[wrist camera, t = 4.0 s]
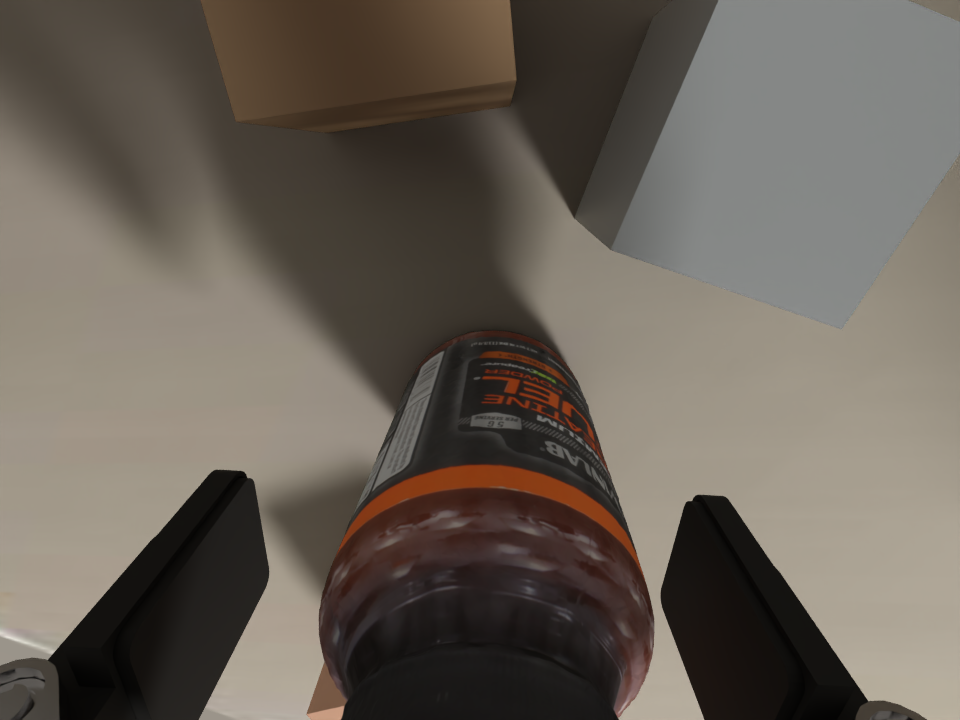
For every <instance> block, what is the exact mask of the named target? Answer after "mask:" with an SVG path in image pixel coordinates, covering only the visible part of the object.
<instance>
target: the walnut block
mask: <svg viewBox="0 0 960 720" xmlns="http://www.w3.org/2000/svg"><path fill="white" fill-rule="evenodd" d="M200 1H201V4H202V8H203V11H204V14H205V18H206V21H207V25H208V28H209V32H210V35H211V38H212V42H213V45H214V49H215V52H216V56H217V59H218V62H219V66H220V69H221V73H222V76H223V80H224V83H225V86H226V90H227V93H228V97H229V100H230V104H231V107H232V110H233V114H234V117H235V121H236V122H240V123H249V124H257V125H265V126H274V127H282V128H290V129H299V130H307V131H315V132H324V133H329V132H336V131H343V130H350V129H357V128H364V127H370V126H377V125H384V124H391V123H398V122H405V121H412V120H419V119H425V118H432V117H439V116H446V115H453V114H460V113H467V112H473V111H480V110H487V109H494V108H501V107H508V106H510V105H511V101H512V97H513V93H514V88H515V84H516V80H517V79H516V67H515V55H514V43H513V32H512V20H511V8H510V0H200Z"/></svg>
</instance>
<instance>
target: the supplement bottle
mask: <svg viewBox="0 0 960 720" xmlns="http://www.w3.org/2000/svg"><path fill="white" fill-rule="evenodd" d="M319 637H320V644H321V648H322V653H323V657H324V661H325V664H326V666H327V667H328V671H329V674H330V676H331V678H332V680H333V681H334V683H335V685H336V688H337V689H339V690H340V692H341V694H342V696H343V698H345V700H346V701H347V702H346V703H345V706H344V711H343V715H342V718H341V720H619V719H618V718H619V717H620V716H621V714H622V713H623V711H624V710H625V709H626V708H627V707H628V706H629V705H630V703H631V701H633V700H634V699H635V698H636V696H637V694H638V692H639V690H640V688H641V686H642V684H643V682H644V681H645V678H646V675H647V672H648V670H649V666H650V662H651V659H652V654H653V647H654V616H653V610H652V605H651V600H650V596H649V592H648V588H647V585H646V582H645V579H644V575H643V572H642V569H641V566H640V563H639V560H638V557H637V553H636V550H635V547H634V544H633V541H632V538H631V535H630V532H629V529H628V526H627V523H626V520H625V518H624V515H623V511H622V508H621V506H620V503H619V498H618V496H617V493H616V491H615V488H614V485H613V483H612V479H611V476H610V473H609V471H608V468H607V465H606V462H605V460H604V456H603V453H602V450H601V447H600V443H599V440H598V437H597V434H596V431H595V428H594V424H593V421H592V418H591V416H590V413H589V408H588V405H587V403H586V400H585V398H584V396H583V393H582V391H581V388H580V386H579V384H578V382H577V380H576V378H575V376H574V375H573V373H572V371H571V370H570V368H569V367H568V366H567V365H566V363H565V362H564V361H563V360H562V359H561V358H560V357H559V356H558V355H557V354H556V353H555V352H554V351H552V350H551V349H550V348H548V347H546V346H545V345H544V344H542V343H541V342H539V341H537V340H534V339H532V338H529V337H527V336H524V335H521V334H517V333H513V332H507V331H481V332H470V333H466V334H464V335H461V336H458V337H455V338H453V339H452V340H450V341H448V342H446V343H444V344H443V345H441V346H440V347H438V348H436V349H435V350H434V351H433V352H432V353H431V354H430V355H428V356H427V357H426V358H425V359H424V360H423V361H422V362H421V364H420V365H419V366H418V368H417V369H416V371H415V372H414V374H413V376H412V378H411V380H410V381H409V383H408V385H407V387H406V389H405V392H404V394H403V396H402V399H401V402H400V404H399V406H398V409H397V411H396V414H395V416H394V419H393V421H392V423H391V426H390V428H389V430H388V433H387V435H386V437H385V440H384V443H383V445H382V447H381V450H380V452H379V454H378V457H377V459H376V462H375V464H374V466H373V469H372V471H371V473H370V476H369V478H368V481H367V483H366V486H365V488H364V490H363V492H362V495H361V497H360V499H359V502H358V504H357V507H356V509H355V511H354V514H353V516H352V518H351V520H350V522H349V525H348V528H347V530H346V533H345V536H344V538H343V540H342V543H341V545H340V547H339V550H338V552H337V554H336V557H335V559H334V561H333V564H332V566H331V569H330V572H329V575H328V578H327V581H326V584H325V588H324V590H323V593H322V599H321V606H320V609H319Z"/></svg>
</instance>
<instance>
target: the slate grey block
mask: <svg viewBox="0 0 960 720" xmlns="http://www.w3.org/2000/svg"><path fill="white" fill-rule="evenodd" d="M959 154H960V22H959V21H957V20H954V19H952V18H949V17H947V16H945V15H942V14H940V13H938V12H935V11H933V10H930V9H928V8H926V7H923V6H921V5H918V4H916V3H914V2H911V1H909V0H672V1H671V2H670V3H668V4H667V5H666V6H665V7H664V8H663V9H662V10H661V11H660V12H658V13H657V14H656V15H655V16H654V17H653V18H652V21H651V23H650V26H649V28H648V31H647V34H646V36H645V39H644V41H643V44H642V46H641V49H640V51H639V54H638V57H637V59H636V62H635V64H634V67H633V69H632V72H631V74H630V77H629V80H628V82H627V85H626V87H625V90H624V92H623V95H622V97H621V100H620V103H619V105H618V108H617V110H616V113H615V115H614V118H613V120H612V123H611V125H610V128H609V131H608V133H607V136H606V138H605V141H604V143H603V146H602V148H601V151H600V154H599V156H598V159H597V161H596V164H595V166H594V169H593V171H592V174H591V177H590V179H589V182H588V184H587V187H586V189H585V192H584V194H583V197H582V200H581V202H580V205H579V207H578V210H577V212H576V215H575V217H574V218H575V219H576V220H577V221H578V222H579V223H580V224H581V225H583V226H584V227H585V228H586V229H587V230H588V231H590V232H591V233H592V234H593V235H594V236H595V237H596V238H598V239H599V240H600V241H601V242H602V243H603V244H604V245H606V246H607V247H608V248H609V249H610V250H612V251H615V252H618V253H621V254H624V255H627V256H630V257H633V258H636V259H639V260H641V261H644V262H647V263H650V264H653V265H656V266H659V267H662V268H665V269H668V270H671V271H673V272H676V273H679V274H682V275H685V276H688V277H691V278H694V279H697V280H700V281H702V282H705V283H708V284H711V285H714V286H717V287H720V288H723V289H726V290H729V291H731V292H734V293H737V294H740V295H743V296H746V297H749V298H752V299H755V300H758V301H760V302H763V303H766V304H769V305H772V306H775V307H778V308H781V309H784V310H787V311H790V312H792V313H795V314H798V315H801V316H804V317H807V318H810V319H813V320H816V321H819V322H821V323H824V324H827V325H830V326H833V327H836V328H839V329H842V328H843V327H844V325H845V324H846V322H847V321H848V319H849V318H850V316H851V315H852V314H853V312H854V311H855V309H856V308H857V306H858V305H859V303H860V302H861V300H862V299H863V297H864V296H865V294H866V293H867V291H868V290H869V288H870V287H871V285H872V284H873V282H874V281H875V279H876V278H877V276H878V275H879V273H880V272H881V270H882V269H883V267H884V266H885V264H886V263H887V261H888V260H889V258H890V257H891V255H892V254H893V252H894V251H895V249H896V248H897V246H898V245H899V243H900V242H901V240H902V239H903V237H904V236H905V234H906V233H907V231H908V230H909V229H910V227H911V226H912V224H913V223H914V221H915V220H916V218H917V217H918V215H919V214H920V212H921V211H922V209H923V208H924V206H925V205H926V203H927V202H928V200H929V199H930V197H931V196H932V194H933V193H934V191H935V190H936V188H937V187H938V185H939V184H940V182H941V181H942V179H943V178H944V176H945V175H946V173H947V172H948V170H949V169H950V167H951V166H952V164H953V163H954V161H955V160H956V158H957V157H958V155H959Z"/></svg>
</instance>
